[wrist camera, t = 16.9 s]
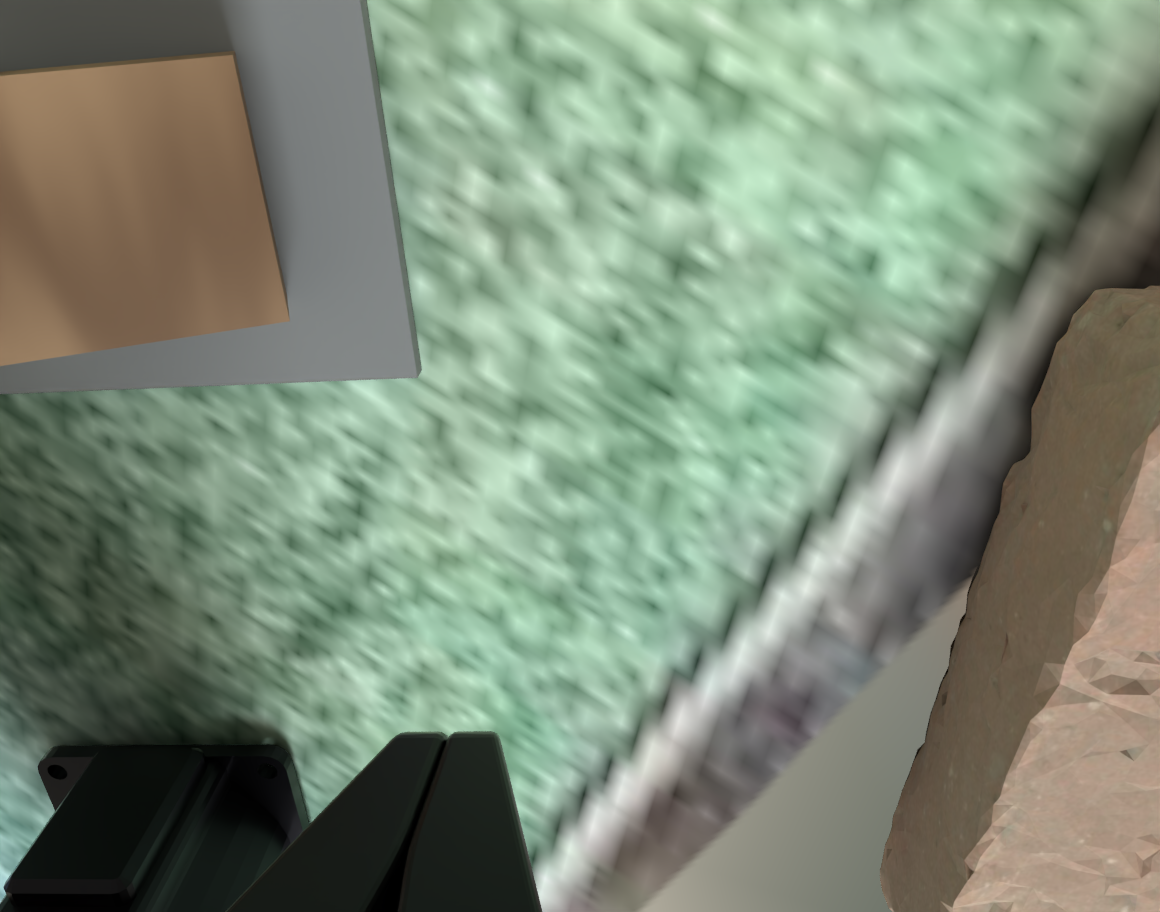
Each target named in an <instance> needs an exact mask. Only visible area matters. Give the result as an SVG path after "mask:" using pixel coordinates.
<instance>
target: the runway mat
mask: <svg viewBox="0 0 1160 912" xmlns="http://www.w3.org/2000/svg"><path fill="white" fill-rule="evenodd" d="M227 51H235V55H236V59H237V64H238V69H239V73H240V78H241V83H242V87H243V92H244V97H245V102H246V106H247V111H248V116H249V120H250V125H251V130H252V134H253V139H254V144H255V148H256V153H257V158H258V162H259V167H260V172H261V176H262V181H263V186H264V190H265V195H266V200H267V205H268V209H269V214H270V219H271V223H272V228H273V233H274V237H275V242H276V247H277V251H278V256H279V261H280V265H281V270H282V275H283V279H284V284H285V289H286V293H287V299H288V308H289V318H290V321H288V322H282V323H275V324H269V325H262V326H256V327H250V328H243V329H237V330H230V331H224V332H217V333H211V334H204V335H198V336H191V337H185V338H178V339H172V340H165V341H159V342H153V343H146V344H140V345H133V346H127V347H120V348H114V349H107V350H101V351H94V352H88V353H81V354H75V355H68V356H62V357H55V358H49V359H43V360H36V361H30V362H23V363H17V364H10V365H4V366H0V394H18V393H43V392H68V391H93V390H119V389H144V388H169V387H194V386H219V385H245V384H270V383H295V382H320V381H346V380H371V379H396V378H418V376H419V374H420V372H421V370H422V369H421V363H420V356H419V349H418V343H417V336H416V329H415V323H414V316H413V309H412V303H411V296H410V289H409V283H408V276H407V269H406V263H405V256H404V249H403V243H402V236H401V229H400V223H399V216H398V209H397V203H396V196H395V189H394V183H393V176H392V169H391V163H390V156H389V149H388V142H387V136H386V129H385V122H384V116H383V109H382V102H381V96H380V89H379V82H378V76H377V69H376V62H375V56H374V49H373V42H372V36H371V29H370V22H369V16H368V9H367V2H366V0H0V72H3V71H15V70H26V69H37V68H48V67H59V66H70V65H82V64H93V63H104V62H115V61H126V60H137V59H149V58H160V57H171V56H182V55H193V54H204V53H216V52H227Z"/></svg>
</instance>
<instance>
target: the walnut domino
mask: <svg viewBox="0 0 1160 912" xmlns="http://www.w3.org/2000/svg"><path fill="white" fill-rule="evenodd" d="M288 321H290V318H289V308H288V299H287V293H286V289H285V284H284V279H283V275H282V270H281V265H280V261H279V256H278V251H277V247H276V242H275V237H274V233H273V228H272V223H271V219H270V214H269V209H268V205H267V200H266V195H265V190H264V186H263V181H262V176H261V172H260V167H259V162H258V158H257V153H256V148H255V144H254V139H253V134H252V130H251V125H250V120H249V116H248V111H247V106H246V102H245V97H244V92H243V87H242V83H241V78H240V73H239V69H238V64H237V59H236V55H235V51H227V52H216V53H204V54H193V55H182V56H171V57H160V58H149V59H137V60H126V61H115V62H104V63H93V64H82V65H70V66H59V67H48V68H37V69H26V70H15V71H3V72H0V366H4V365H10V364H17V363H23V362H30V361H36V360H43V359H49V358H55V357H62V356H68V355H75V354H81V353H88V352H94V351H101V350H107V349H114V348H120V347H127V346H133V345H140V344H146V343H153V342H159V341H165V340H172V339H178V338H185V337H191V336H198V335H204V334H211V333H217V332H224V331H230V330H237V329H243V328H250V327H256V326H262V325H269V324H275V323H282V322H288Z"/></svg>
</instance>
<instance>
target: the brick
mask: <svg viewBox="0 0 1160 912" xmlns="http://www.w3.org/2000/svg"><path fill="white" fill-rule="evenodd" d="M1031 420H1032V434H1031V449H1030V452H1029V454H1028V455H1027V456H1026V457H1025V458H1024V459H1023V460H1021V461H1019V462H1016V463H1014V464H1013V466H1012V467H1011V469H1010V471H1009V473H1008V475H1007V477H1006V479H1005V481H1004V483H1003V488H1002V496H1001V505H1000V513H999V515H998V517H997V519H996V521H995V523H994V525H993V528H992V531H991V535H990V538H989V541H988V543H987V546H986V549H985V552H984V554H983V558H982V561H981V565H980V568H979V571H978V574H977V576H975V577H974V578H973V579H972V581H971V584H970V587H969V590H968V594H967V604H966V613H965V614H964V615H963V616H962V618H961V619H960V623H959V628H958V632H957V635H956V636H955V638H954V640H953V642H952V644H951V648H950V658H949V666H948V669H947V671H946V673H945V675H944V677H943V679H942V681H941V684H940V687H939V690H938V693H937V696H936V700H935V702H934V705H933V708H932V711H931V714H930V718H929V722H928V726H927V731H926V737H925V743H924V744H923V745H922V746H921V747H920V748H919V749H918V750H917V753H916V755H915V758H914V761H913V764H912V767H911V770H910V772H909V775H908V777H907V780H906V782H905V785H904V788H903V790H902V793H901V797H900V800H899V803H898V806H897V808H896V811H895V813H894V816H893V822H892V829H891V832H890V835H889V838H888V840H887V842H886V844H885V849H884V855H883V860H882V865H881V868H880V881H881V886H882V891H883V894H884V896H885V899H886V902H887V904H888V907H889V909H890V910H891V911H893V912H1160V286H1148V287H1147V288H1145V289H1123V288H1107V289H1098V290H1095V291H1094V292H1093V293H1092V295H1091V296H1090V297H1089V298H1088V300H1087V301H1086V302H1085V303H1084V304H1083V305H1082V306H1081V307H1080V308H1079V309H1078V310H1077V311H1076V312H1075V313H1074V315H1073V316H1072V319H1071V322H1070V325H1069V328H1068V331H1067V333H1066V334H1065V335H1064V336H1063V337H1062V338H1061V339H1060V340H1059V341H1058V342H1057V344H1056V347H1055V350H1054V353H1053V356H1052V359H1051V363H1050V366H1049V369H1048V371H1047V374H1046V377H1045V379H1044V382H1043V384H1042V387H1041V390H1040V392H1039V394H1038V396H1037V398H1036V400H1035V402H1034V405H1033V407H1032V409H1031Z"/></svg>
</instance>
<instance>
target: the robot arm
mask: <svg viewBox="0 0 1160 912" xmlns="http://www.w3.org/2000/svg"><path fill="white" fill-rule="evenodd" d="M267 764H270V765H272V766H274V767H271V766H269V765H267ZM38 770H39V774H40V776H41V779H42V781H43V783H44V786H45V788H46V790H47V793H48V795H49V797H50V800H51V802H52V804H53V807H54V809H55V813H54V814H53V815H52V817H51V818H50V820H49V821H48V822H47V824H46V825H45V827H44V828H43V830H42V831H41V832H40V834H39V835H38V837H37V838H36V840H35V841H34V842H33V844H32V845H31V847H30V848H29V849H28V851H27V852H26V854H25V855H24V857H23V858H22V859H21V861H20V862H19V864H18V865H17V866H16V868H15V869H14V871H13V872H12V874H11V875H10V876H9V878H8V879H7V881H6V883H5V885H4V890H5V892H6V896H5V897H4V898H3V900H2V901H1V903H0V912H542V909H541V905H540V901H539V896H538V892H537V888H536V884H535V880H534V876H533V872H532V868H531V864H530V860H529V855H528V851H527V847H526V843H525V839H524V835H523V831H522V827H521V823H520V819H519V814H518V810H517V806H516V802H515V798H514V794H513V790H512V786H511V782H510V778H509V773H508V769H507V765H506V761H505V757H504V753H503V749H502V745H501V741H500V738H499V736H498V735H497V733H495V732H491V731H474V732H454V733H453V734H451V735H450V736H449V737H448V736H447V735H446V734H444V733H442V732H404V733H400V734H399V735H397V736H395V737H394V738H393V739H392V740H391V741H390V742H389V743H388V744H387V745H386V746H385V747H384V748H383V749H382V750H381V751H380V752H379V753H378V754H377V755H376V756H375V757H374V758H373V759H372V760H371V761H370V762H369V763H368V765H367V766H366V767H365V768H364V769H363V770H362V771H361V772H360V773H359V774H358V775H357V776H356V777H355V778H354V779H353V780H352V781H351V782H350V783H349V784H348V785H347V786H346V787H345V788H344V789H343V790H342V791H341V792H340V793H339V795H338V796H337V797H336V798H335V799H334V800H333V801H332V802H331V803H330V804H329V805H328V806H327V807H326V808H325V809H324V810H323V811H322V812H321V813H320V814H319V815H318V816H317V817H316V818H315V819H314V820H313V821H312V822H311V823H310V825H309V822H308V818H307V814H306V810H305V807H304V803H303V799H302V795H301V792H300V788H299V784H298V780H297V777H296V773H295V769H294V765H293V761H292V759H291V757H290V755H289V753H288V752H286V751H285V750H284V749H283V748H281V747H278V746H276V745H125V746H57V747H53V748H51V749H50V750H49V751H48V752H47V753H46V754H45V756H44V757H43V758H42V760H41V761H40V763H39V765H38Z"/></svg>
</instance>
